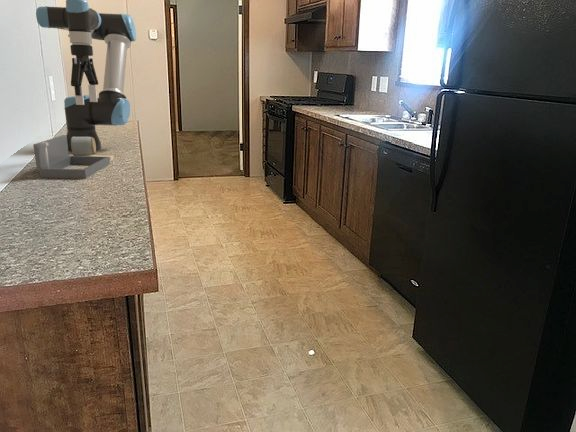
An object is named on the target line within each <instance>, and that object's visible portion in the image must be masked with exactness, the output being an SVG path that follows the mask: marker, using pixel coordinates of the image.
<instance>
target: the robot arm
mask: <svg viewBox="0 0 576 432" xmlns="http://www.w3.org/2000/svg"><path fill="white" fill-rule="evenodd" d="M35 17H36V21H37V22H36V23H38V25H39V26H40V27H42V28H45V29H46V28H47V29H57V30H62V31H67V32H69V33H68V36H67V37H68V38H69V43H71V45H70V53H71V55H72V56H75V57H72V59H71V62H72V65H71V66H72V67H71V74H70V86H71V87H73V88H74V96H68V97H66V98H65V99H64V103H63V104H64V107H63V110H64V114H65V123H66V132H67V133H66V135H67V144H68V151H72V148H71V138H72V137H93V138H94V140H95V144H96V150H99V149H102V142H101V140H100V137H99V135H98V133H97V129H96V126H113V127H117V126H125V124H127V123H128V121H129V119H130V115H131V104H130V100H129V99H127V96H126V95H125V94H124V90H125V89H124V88H125V79H126V78H125V77H126V67H127V65H126V63H127V55H128V54H127V52H128V49H129V48H131V45H132V43H133V42H136V40H137V31H136V26H135V22H134V19H133V18H132V16H131V15H130V14H126V13H100V12H98V11H96V10H95V9H93V8H90V6H89V2H88V0H65V7H64V6H63V7H62V6H61V7H60V6H38V7H37V8H36V11H35ZM93 40H97V41H104V43H105V44H106V56H105V66H104V67H105V68H104V76H103V86H102V87H103V88H102V90H101V91H99V93H98V92H97V85H99V80H98V75H97V73H96V70H95V65H94V62H93V61H94V60H93V58H92V56H94V49H93V46H92V44H93ZM90 57H91V58H90ZM84 75H85V77H86V80H87V82H88V84H87V86H88V87H87V88H88V94H84V87H83V86H82V82H83V79H84Z"/></svg>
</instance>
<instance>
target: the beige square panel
mask: <svg viewBox="0 0 576 432" xmlns="http://www.w3.org/2000/svg"><path fill="white" fill-rule="evenodd" d="M87 156H98V157H109V158H110V161H112V160H113V159H115V158H117V154H116V153H106V154H105V153H95V154H94V155H87Z"/></svg>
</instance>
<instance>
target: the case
mask: <svg viewBox="0 0 576 432" xmlns="http://www.w3.org/2000/svg"><path fill="white" fill-rule="evenodd" d="M32 146H33V150H34V152H33V153H34V159H35V166H36V169H37V170H38V171H39V179H40V178H41V179H83V180H86V179H88V178H89V176H90V177H91V176H93V175H95V174H96V173H98V172H99V170H100V171H101V170H103V169H105V168H106V167H108V166H110V165H111V160H110V158H109V157H98V156H74V155H70V154H69V150H68V144H67V134H62V135H58V136H56V137H52V138H50V139H47V140H43V141H40V142H37V143H34V144H33V145H32ZM109 164H110V165H109ZM72 165H87V167H85V168H67V167H69V166H72ZM88 165H89V166H88ZM97 171H98V172H97ZM94 173H95V174H94Z"/></svg>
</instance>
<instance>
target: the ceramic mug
mask: <svg viewBox="0 0 576 432" xmlns="http://www.w3.org/2000/svg"><path fill="white" fill-rule="evenodd" d="M71 148H72V150H71V152H72V156H87V155H94V154H97V153H96V152H97V149H96V144H95V140H94V138H93V137H72V138H71Z"/></svg>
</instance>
